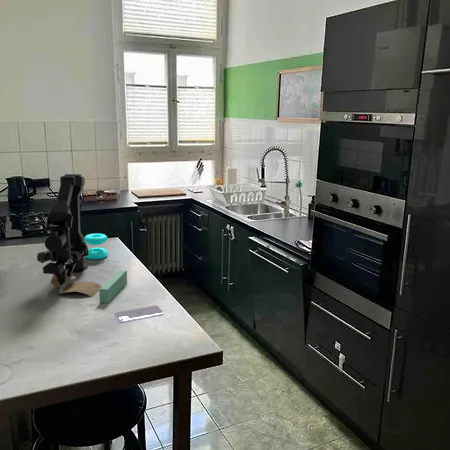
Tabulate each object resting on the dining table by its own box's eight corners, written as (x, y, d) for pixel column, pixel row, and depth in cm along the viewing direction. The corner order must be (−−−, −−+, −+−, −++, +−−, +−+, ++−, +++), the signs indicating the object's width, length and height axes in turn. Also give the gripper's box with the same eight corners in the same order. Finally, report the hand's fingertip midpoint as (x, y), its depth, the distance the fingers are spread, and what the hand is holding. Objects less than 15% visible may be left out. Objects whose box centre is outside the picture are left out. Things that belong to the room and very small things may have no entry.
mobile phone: (164, 312, 149) (119, 321, 142) (165, 315, 149) (119, 324, 142) (157, 304, 155) (113, 311, 148) (157, 306, 155) (113, 314, 149)
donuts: (103, 238, 199) (80, 238, 200) (104, 260, 202) (82, 259, 202) (109, 233, 209) (88, 232, 209) (110, 253, 211) (89, 253, 212)
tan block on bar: (45, 286, 164) (48, 277, 163) (58, 277, 173) (61, 268, 172) (61, 293, 164) (64, 284, 163) (73, 283, 173) (76, 275, 172)
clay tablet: (104, 288, 171) (103, 281, 171) (95, 299, 161) (94, 291, 161) (66, 287, 172) (66, 280, 171) (55, 297, 162) (54, 290, 162)
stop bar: (119, 282, 176) (119, 269, 175) (127, 282, 176) (126, 270, 175) (99, 302, 157) (99, 288, 156) (108, 303, 157) (107, 289, 155)
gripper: (52, 235, 174) (55, 274, 178) (26, 249, 156) (30, 292, 160) (80, 237, 173) (82, 276, 177) (57, 251, 155) (60, 294, 159)
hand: (64, 284), depth 168 cm, fingers closed on tan block on bar, 3 cm apart
